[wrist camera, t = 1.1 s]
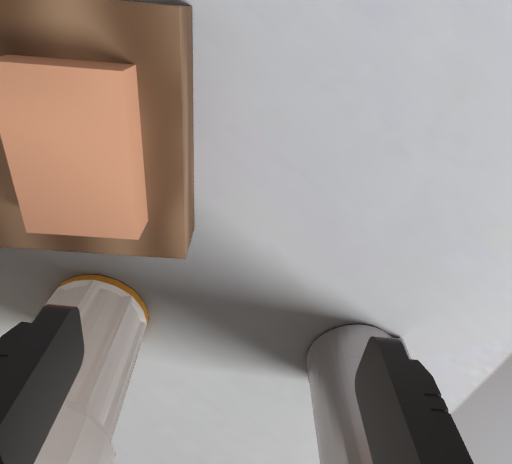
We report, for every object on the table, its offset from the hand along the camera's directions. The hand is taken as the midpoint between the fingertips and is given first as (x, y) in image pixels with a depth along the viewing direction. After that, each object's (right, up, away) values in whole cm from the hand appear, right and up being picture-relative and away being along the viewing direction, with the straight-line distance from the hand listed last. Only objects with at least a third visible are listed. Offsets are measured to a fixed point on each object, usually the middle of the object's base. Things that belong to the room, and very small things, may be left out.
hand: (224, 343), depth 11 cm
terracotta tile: (-10, +8, +13) cm, 18 cm away
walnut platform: (-12, +11, +17) cm, 23 cm away
